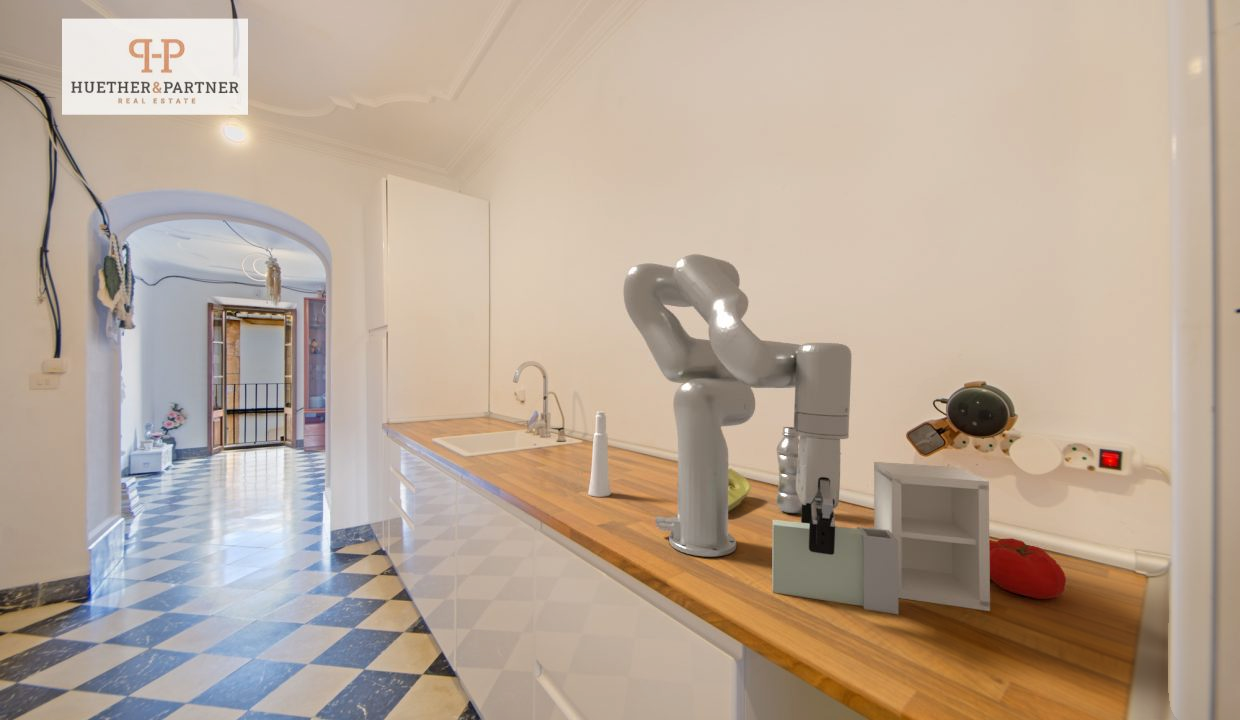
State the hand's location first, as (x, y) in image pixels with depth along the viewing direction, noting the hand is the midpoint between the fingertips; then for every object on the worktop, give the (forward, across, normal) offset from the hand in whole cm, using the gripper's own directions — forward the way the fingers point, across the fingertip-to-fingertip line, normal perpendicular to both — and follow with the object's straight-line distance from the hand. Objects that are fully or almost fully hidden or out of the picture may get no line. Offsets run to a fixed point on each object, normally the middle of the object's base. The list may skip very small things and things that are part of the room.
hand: (816, 539), depth 66 cm
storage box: (+8, +1, +2) cm, 8 cm away
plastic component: (+10, -40, -17) cm, 45 cm away
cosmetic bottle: (+10, -39, -48) cm, 63 cm away
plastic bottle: (+9, -40, 0) cm, 41 cm away
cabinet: (+8, -5, +15) cm, 18 cm away
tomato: (+8, -12, +31) cm, 34 cm away
